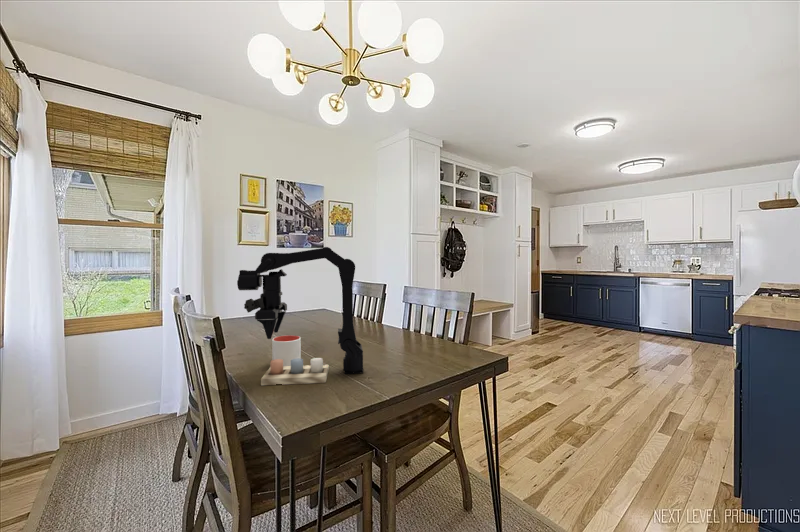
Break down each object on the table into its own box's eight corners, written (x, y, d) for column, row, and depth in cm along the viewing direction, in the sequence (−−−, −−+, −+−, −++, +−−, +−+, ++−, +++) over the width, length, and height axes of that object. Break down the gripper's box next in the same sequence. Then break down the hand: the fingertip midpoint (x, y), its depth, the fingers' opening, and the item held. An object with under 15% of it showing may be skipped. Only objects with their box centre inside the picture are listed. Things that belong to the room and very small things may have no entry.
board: (328, 370, 122) (328, 364, 122) (325, 382, 110) (325, 376, 110) (270, 372, 120) (270, 366, 120) (261, 385, 108) (260, 379, 108)
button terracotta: (284, 370, 116) (284, 358, 116) (281, 374, 112) (281, 362, 112) (272, 370, 116) (271, 359, 116) (269, 375, 112) (269, 363, 112)
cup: (292, 370, 122) (292, 342, 122) (267, 368, 124) (266, 340, 124) (305, 361, 132) (305, 335, 132) (281, 359, 134) (281, 334, 134)
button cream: (323, 369, 118) (323, 357, 118) (322, 373, 114) (322, 361, 114) (311, 369, 117) (311, 357, 117) (309, 373, 113) (309, 361, 113)
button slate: (303, 369, 117) (303, 358, 117) (302, 373, 113) (302, 361, 113) (291, 370, 117) (291, 358, 116) (289, 374, 113) (289, 362, 113)
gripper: (255, 287, 124) (256, 330, 125) (237, 293, 106) (238, 343, 106) (287, 287, 125) (287, 329, 126) (274, 292, 107) (275, 342, 107)
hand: (272, 335), depth 116 cm, fingers open, 9 cm apart
